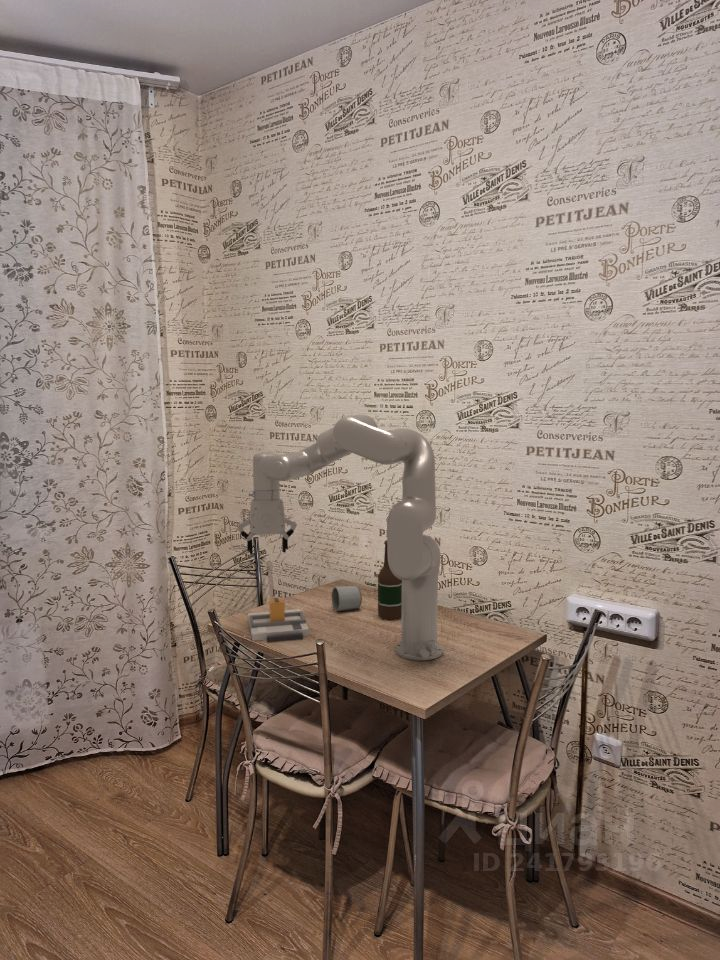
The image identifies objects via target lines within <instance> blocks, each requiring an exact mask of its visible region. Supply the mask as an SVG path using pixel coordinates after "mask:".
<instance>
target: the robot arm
mask: <svg viewBox="0 0 720 960" xmlns="http://www.w3.org/2000/svg"><path fill="white" fill-rule="evenodd" d="M350 454H354V455H357V456H359V457H361V458H365V459H366V460H369V461H372V462H374V463H376V464H378V465H379V464H380V465H387V466H390V465H394V464H398V463H400V462H402V463H403V465H404V468H403V473H402V477H401V478H402V479H401V480H402V481H401V485H402V487H401V488H402V494H401V495H402V498H401V500H400V501H397V502H396V503H395V504H393V506H391V508H390V510H389V512H388V515H387V519H386V520H387V521H386V537H387V538H386V540H387V554H388V564H389V567H390V570H391V572H392V573H393V574H394V576H395V577H397V578H398V579H400V580H402V617H401V642H399V643H397V644H396V646H395V653H396V654H397V656H399V657H401V658H403V659H407V660H410V661H411V660H412V661H419V662H420V661H422V662H423V661H430V660H435V659H438V658H439V657H441V656H442V655H443V653H444V647H443V646H442V645H441V644H440V643H438V596H439V595H438V591H439V590H438V589H439V587H438V586H439V574H440V567H441V550H440V546H439V544H438V542H437V541H436V540H435V539H434V538H432V537H431V536H429V535H425V534H424V532H425V531H427V530H429V529H430V528H431V527H433V525H434V523H435V522H436V518H437V508H436V507H437V506H436V503H437V502H436V461H435V454H434V450H433V447H432V444H430V441H428V439H427V438H426V437H425V436H424V435H423V434H421V433H419V432H418V431H416V430H413V429H410V428H396V429H391V430H390V429H389V430H384V429H382V428H379V427H378V424H377V422H376V421H375V420H374V418H372V417H371V416H368V415H366V414H355V415H346V416H343V417H341V418H340V419H338V420H337V421H336V423H335V424H334V426H333V427H331V428H329V429H327V430H325V431H324V432H321V433H320V434H318V436H317V439H316V442H315V443H312V444H311V445H309V446H307V447H305V448H303V449H301V450H298V451H293V452H288V453H282V454H277V453H275V452H270V451H269V452H267V451H266V452H265V451H264V452H257V453H255V454H254V455H253V457H252V468H253V469H252V476H253V477H252V480H253V482H252V483H253V487H252V488H253V489H252V490H251V491H248V497H252V499H251V500H250V508H249V518H248V519H246V520H245V521H242V522H241V523H239V524H238V525H237V527H236V528H237V530H238V531H239V533H240V535H241V536H242V537H243V538H244V539H245V540H246V541H247V542H246V544H247V547H246V549H247V551H248V552H249V554H250V555H253V554H254V553H253V551H254V550H253V547H254V546H253V545H254V544H253V537H255V535H256V536H265V535H266V536H267V535H270V536H271V535H281V536H282V538H281V539H282V540H281V549H282V552H283V553H284V554H285V553H287V552H286V550H288V549H289V545H288V542H289V540H288V539H290V537H291V535H293V534H294V532H295V530H296V528H297V526H298V524H297V523H296V522H295V521H292V520H290V519H288V518H287V517H286V516H285V506H284V500H283V499H282V498H281V497H280V496H281V495H280V493H281V492H280V482H287V481H291V480H294V479H298V478H303V477H306V476H309V475H310V474H312V473H315V472H317V471H319V470H321V469H323V468H325V467H327V466H329V465H330V464H332V463H334V462H336V461H339V460H340V459H342V458H345V457H346V456H348V455H350ZM286 525H288V526H290V528H289V529H288V530H287V531H286ZM247 526H249V532H248V533H247V531H245V530H244V528H245V527H247Z"/></svg>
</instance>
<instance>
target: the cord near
mask: <svg viewBox="0 0 720 960" xmlns="http://www.w3.org/2000/svg"><path fill="white" fill-rule="evenodd" d="M303 639H304V636H303V634H302V633H294V634H283V635H272V636H267V640H266V642H267V643H277V642H279V643H280V642H287V641H301V640H303Z"/></svg>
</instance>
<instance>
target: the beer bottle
mask: <svg viewBox="0 0 720 960" xmlns="http://www.w3.org/2000/svg"><path fill="white" fill-rule="evenodd" d="M383 544H384V556H383V557H384V558H383V559H384V561H383V566H382V568H381V569H380V570H379V572H378V575H377V615H378V617H379V616H380V617H379V618H380V619H381V618H382V619H381V620H384V619H387V620H386V621H395V620H394V619H398V620H400V619H402V580H400V579H398V578H397V577H395V576H394V574H393V573H392V572H391V570H390V567H389V564H388V554H387V539H386V540H384V542H383ZM399 618H400V619H399Z"/></svg>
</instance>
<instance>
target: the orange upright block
mask: <svg viewBox="0 0 720 960" xmlns="http://www.w3.org/2000/svg"><path fill="white" fill-rule="evenodd" d="M284 600H285V599H284V598H283V597H274V598H273V597H272V598H268V607H269V611H268V612H270V621H271V622H273V621H285V601H284Z"/></svg>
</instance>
